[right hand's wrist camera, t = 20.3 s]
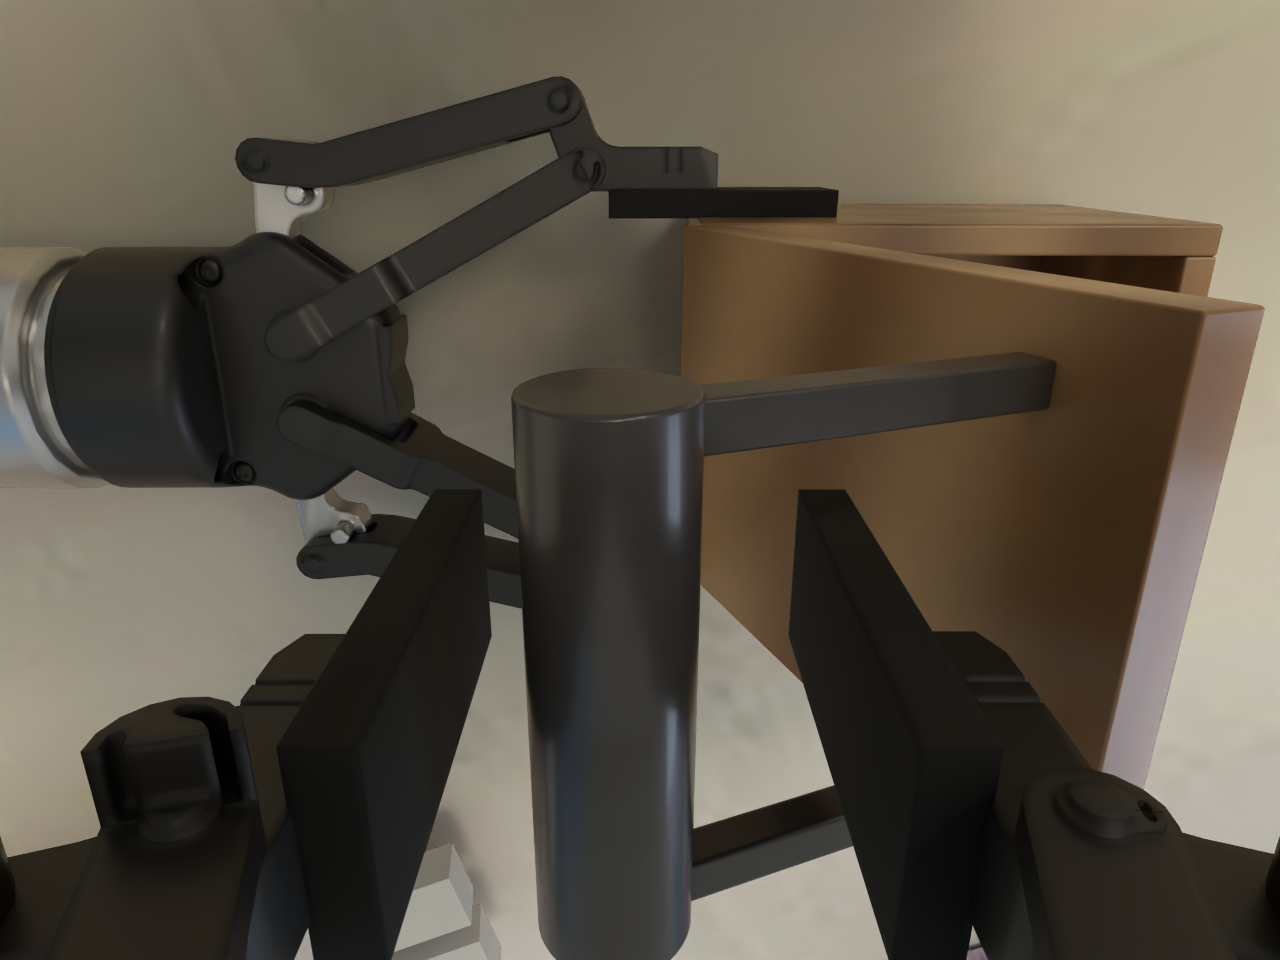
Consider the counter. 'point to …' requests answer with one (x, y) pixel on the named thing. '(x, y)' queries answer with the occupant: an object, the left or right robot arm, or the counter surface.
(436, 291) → the counter surface
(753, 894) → the counter surface
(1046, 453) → the lid
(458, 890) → the toy
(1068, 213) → the chest
